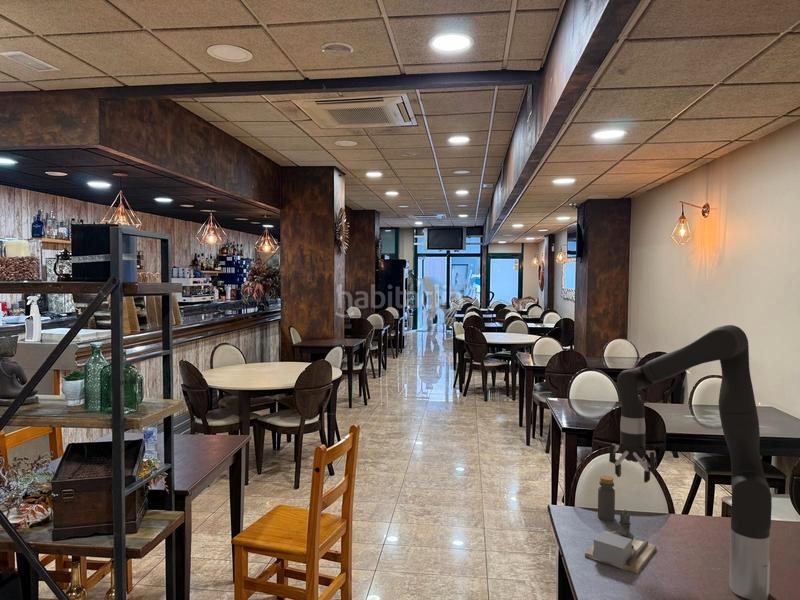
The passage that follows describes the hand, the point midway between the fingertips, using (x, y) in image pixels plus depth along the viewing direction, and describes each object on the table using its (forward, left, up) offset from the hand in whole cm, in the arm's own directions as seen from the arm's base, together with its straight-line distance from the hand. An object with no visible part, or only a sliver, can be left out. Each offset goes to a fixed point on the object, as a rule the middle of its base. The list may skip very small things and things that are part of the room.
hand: (632, 479), depth 179 cm
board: (+2, +6, -23) cm, 24 cm away
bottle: (+15, -18, -23) cm, 33 cm away
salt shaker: (+1, +3, -22) cm, 22 cm away
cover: (+2, +14, -21) cm, 25 cm away
